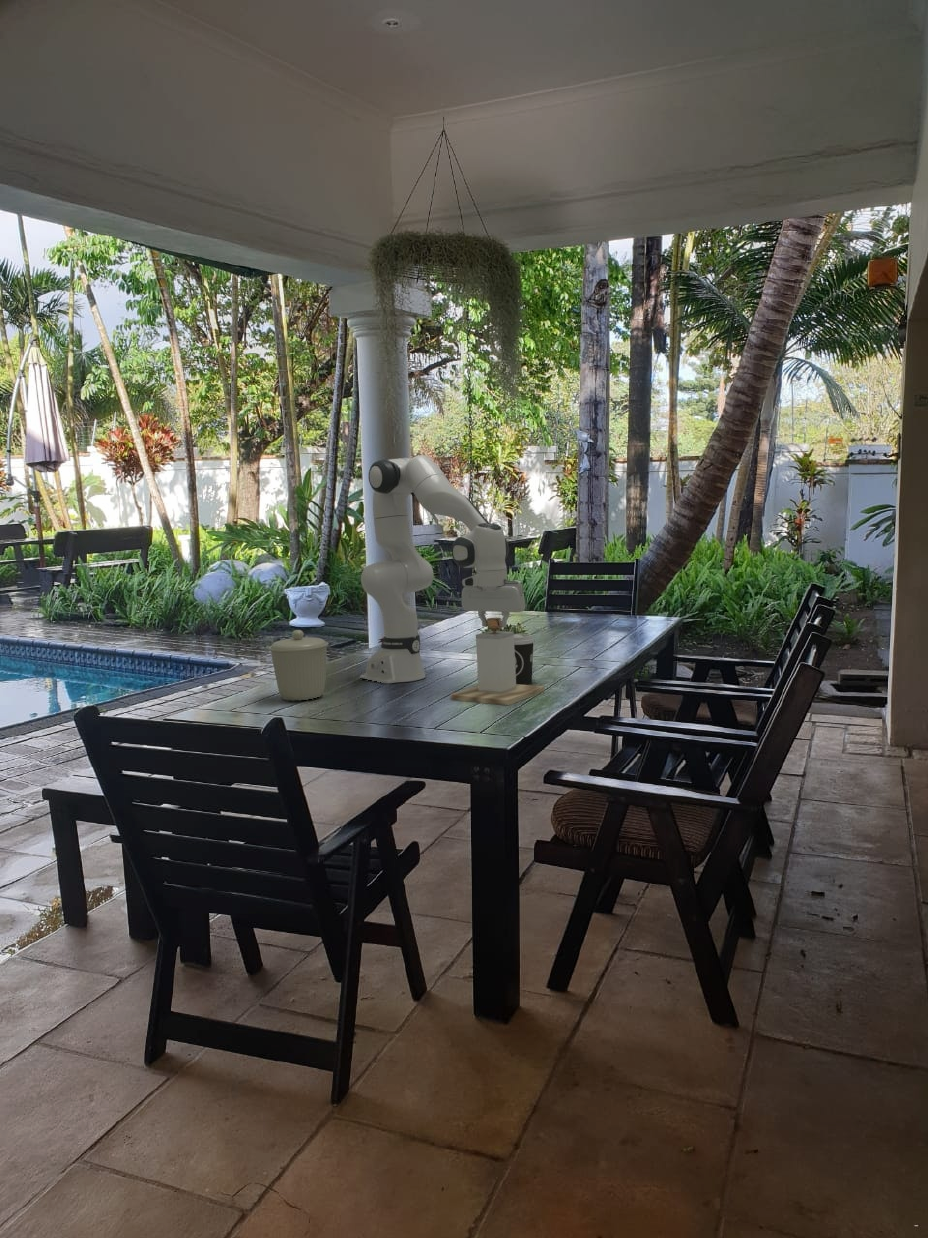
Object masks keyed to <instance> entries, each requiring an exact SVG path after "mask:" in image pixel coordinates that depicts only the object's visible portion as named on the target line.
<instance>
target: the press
mask: <svg viewBox="0 0 928 1238" xmlns="http://www.w3.org/2000/svg"><path fill="white" fill-rule="evenodd" d="M514 634H515V632H514V631H503V630H501V631H500V630H496V634H493V630H490V631H486V632H481V633H479V634H475V646H476V649H475V650H476V667H477V682H478V683H477V685H478V689H479V692H482V693H493V694H504V693H507V692H509V691H512V690H515V689H516V671H515V650H514Z"/></svg>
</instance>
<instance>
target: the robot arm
mask: <svg viewBox="0 0 928 1238" xmlns="http://www.w3.org/2000/svg"><path fill="white" fill-rule="evenodd" d="M368 483H369V485H370V487H371V488H372V490H373V496H372V497H373V498H372V512H373V513H372V515H373V523H374V532H375V540H376V543H377V544H378V545H379V547H380V548H381V549H384V550H387V552H388V553H389V554H390V556H391V558H392V560H386V561H378V562H375V563H372V564H368V565H366V566H365V567H364V568H363V570H362V572H361V575H360V583H361V587H362V589H363V590H364V592H365V593H366V594H368V595H369V596H370V597H372V599H374V600H375V602H376V603H377V605H378V607H379V609H380V612H381V614H382V621H383V623H382V624H383V634H384V636H383V637H382V638H379V639H378V643H379V644H380V643H381V645H380V648H379V649H377V651H376V652H375V653H374V654H373V655H372V656H370V658H368V659H367V661H366V665H365V666H366V668H365V670H366V671H365V673H362V674H360V675H359V679H360V678H365V679H368V680H372V681H371V682H374V681H377V682H376V683H380V682H381V683H382V684H392V683H393V684H394V683H406V682H414V681H420V680H422V679H424V678H426V677H427V675H426V672H425V670H424V667H423V663H422V662H423V661H422V657H421V650H420V649H421V638H420V636H421V635H420V634H419V625H418V622H419V621H418V613H417V611H416V610H415V608H414V607H412V606H411V605H408V604H406V603H405V601H404V599H403V594H407V593H416V592H420V591H422V590H425V589H427V588H429V587H430V586H431V585H432V583H433V581H434V569H433V567H432V565H431V563H430V562H429V561H428V560H426V558H424V557H422V555H421V554H420V553H419V552H418V550H417V548H416V546H415V545H414V543H413V539H412V535H411V529H410V523H409V516H408V515H409V514H408V509H407V500H408V497H409V495H411V496H413V497H415V498H416V499H417V502H418V503H419V504H420V505H421V507H423V509H424V510H425V511H427V512H429V513H430V514H433V515H437V516H443V517H447V518H448V517H449V518H452V519H454V520H455V519H456V520H458V521H460V522H462V523H463V524H464V525H465V526H466V528H467V529H468V530H469V531H470V532H468V533H466V534H464V535H462V536H458V537H456V539H455V540H454V541H453V543H452V546H451V555H452V560H453V561H454V563H455V564H456V565H457V566H458V567H460V568H464V569H465V568H466V569H468V568H476V569H475V571H476V574H473V575H471V576H468V577H466V578H463V579H462V581H461V584H462V586H463V588H462V590H461V607H462V609H463V610H464V611H465V612H477V616H478V617H479V619H480V621H481V626H482V627H483V628H485V627H487V628H488V626H487V619H488V618H487V617H486V615H487V613H488V612H491V613H492V612H494V613H501V616H502V618H501V621H499V624H500V625H499V627H501V628H507V627H508V626H507V625H508V623H507V621H508V620H509V618H510V613H521V612H524V611H525V609H526V599H525V594H524V584H523V583H522V582H521V581H519V580H518V579H513V580H512V579H508V569H507V567H508V566H507V564H506V559H507V558H508V556H509V552H510V547H509V543H508V540H507V539H506V537H505V532H504V530H503V527H502V526H501V525H499V524H497V523H493V522H492V523H490V522H489V521H488V520H487V518H486V516H484V515H483V514H482V512H481V511H480V510H479V509H478V507H476V505H475V504H474V503H473V502H472V501H471V500H470V499H469V497H467V496H465V495H464V494H462V493H461V492H460V491H459V490H458V489H457V488H456V487H455V486H454V485H453V484H452V483H451V482H450V481H449V479H448V478H447V477H446V475H445V474H444V472H443V471H442V470H441V467H440V466H438V464H437V463H436V462H435V461H434V460H433V459H432V458H431V457H429V456H428V455H426V454H418V455H415V456H414V457H412V458H411V457H410V458H409V457H399V458H389V459H386V458H385V459H380V460H377V461H375V462H373V463H372V464H371V465H370V469H369V470H368ZM368 680H367V681H368Z"/></svg>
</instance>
